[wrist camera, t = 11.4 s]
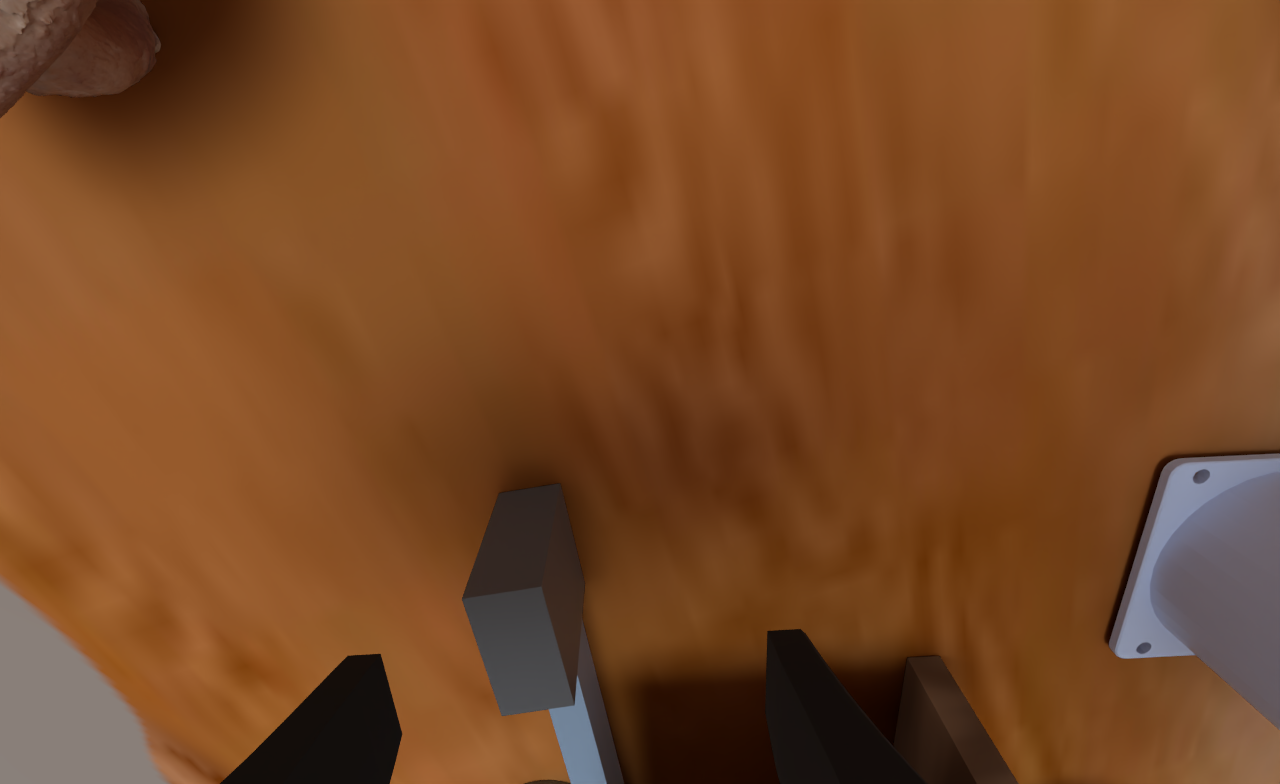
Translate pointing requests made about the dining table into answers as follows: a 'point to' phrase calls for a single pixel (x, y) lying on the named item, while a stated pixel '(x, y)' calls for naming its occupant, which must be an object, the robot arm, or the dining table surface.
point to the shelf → (944, 730)
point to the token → (547, 782)
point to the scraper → (540, 627)
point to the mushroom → (73, 47)
